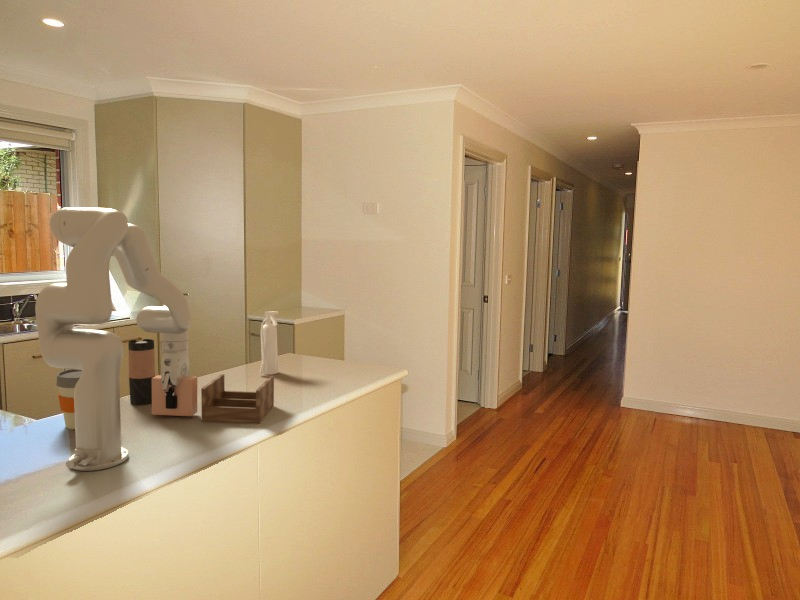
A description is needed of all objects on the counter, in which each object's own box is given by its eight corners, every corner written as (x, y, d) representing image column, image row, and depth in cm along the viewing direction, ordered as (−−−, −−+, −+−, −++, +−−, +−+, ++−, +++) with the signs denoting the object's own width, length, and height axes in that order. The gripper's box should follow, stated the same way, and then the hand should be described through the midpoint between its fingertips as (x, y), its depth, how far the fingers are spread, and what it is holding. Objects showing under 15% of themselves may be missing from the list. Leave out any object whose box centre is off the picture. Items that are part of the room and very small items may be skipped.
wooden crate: (259, 423, 160) (259, 390, 159) (201, 421, 160) (201, 388, 159) (273, 406, 177) (273, 375, 176) (221, 404, 177) (221, 374, 176)
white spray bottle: (251, 375, 214) (251, 312, 211) (270, 369, 225) (270, 309, 222) (265, 377, 212) (266, 314, 209) (284, 371, 223) (284, 310, 220)
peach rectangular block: (192, 416, 162) (192, 379, 161) (151, 414, 162) (151, 378, 161) (197, 412, 166) (197, 376, 165) (158, 410, 166) (157, 375, 165)
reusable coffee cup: (119, 420, 159) (117, 369, 158) (83, 434, 147) (81, 380, 146) (84, 414, 163) (83, 365, 161) (46, 428, 151) (44, 375, 149)
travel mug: (145, 406, 172) (144, 344, 170) (124, 404, 174) (122, 342, 172) (160, 399, 180) (159, 339, 178) (139, 397, 181) (138, 338, 179)
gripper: (175, 351, 154) (175, 415, 156) (198, 341, 171) (198, 399, 172) (148, 350, 154) (149, 414, 156) (174, 340, 171) (174, 398, 172)
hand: (174, 405), depth 164 cm, fingers closed on peach rectangular block, 4 cm apart
